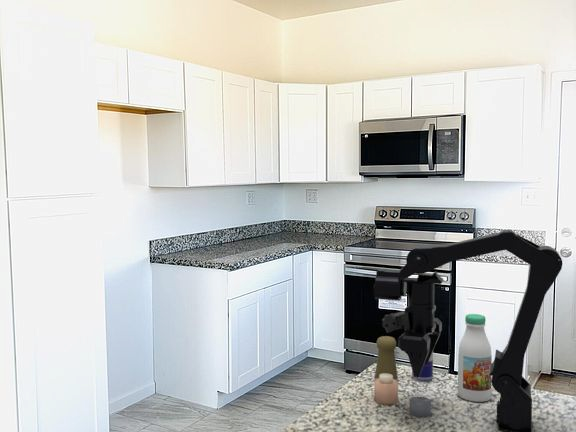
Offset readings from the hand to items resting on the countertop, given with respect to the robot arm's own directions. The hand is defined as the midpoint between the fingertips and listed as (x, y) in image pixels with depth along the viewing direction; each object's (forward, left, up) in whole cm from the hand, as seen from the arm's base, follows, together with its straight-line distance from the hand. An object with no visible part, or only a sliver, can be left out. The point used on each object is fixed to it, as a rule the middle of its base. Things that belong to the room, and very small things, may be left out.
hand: (420, 370), depth 124 cm
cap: (0, 0, -10) cm, 10 cm away
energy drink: (+4, -22, -10) cm, 25 cm away
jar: (+9, -4, -10) cm, 14 cm away
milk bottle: (-10, -15, -10) cm, 21 cm away
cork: (+13, -19, -10) cm, 25 cm away
